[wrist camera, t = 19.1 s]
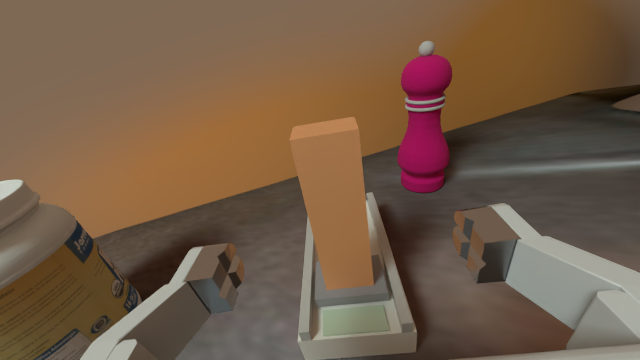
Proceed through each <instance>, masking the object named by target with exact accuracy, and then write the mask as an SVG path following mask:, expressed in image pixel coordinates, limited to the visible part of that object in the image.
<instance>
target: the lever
mask: <svg viewBox="0 0 640 360" xmlns="http://www.w3.org/2000/svg"><path fill="white" fill-rule="evenodd" d="M289 141H290V145H291V149H292V153H293V157H294V161H295V165H296V169H297V173H298V177H299V181H300V185H301V189H302V193H303V197H304V201H305V205H306V209H307V213H308V217H309V221H310V225H311V229H312V233H313V237H314V241H315V245H316V249H317V253H318V258H319V261H318V262H316V276H315V302H316V306H317V307H324V306H335V305H345V304H356V303H366V302H377V301H387V300H389V297H388V290H387V286H386V282H385V278H384V274H383V270H382V266H381V262H380V258H379V255H371V250H370V239H369V229H368V219H367V209H366V199H365V188H364V178H363V168H362V158H361V148H360V137H359V129H358V126H357V123H356V121H355V118H354V117H349V118H343V119H338V120H332V121H325V122H319V123H313V124H307V125H301V126H295V127H293V130H292V133H291V136H290V140H289Z"/></svg>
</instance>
